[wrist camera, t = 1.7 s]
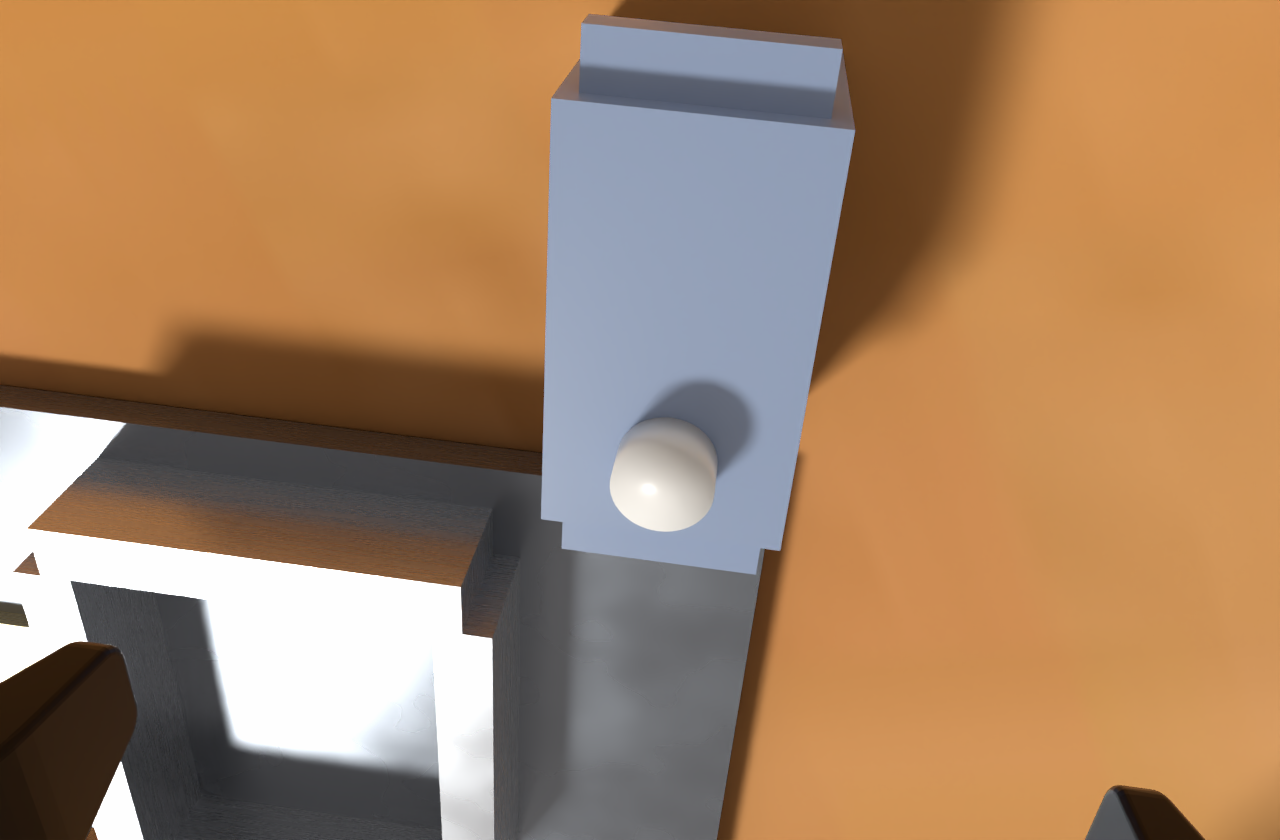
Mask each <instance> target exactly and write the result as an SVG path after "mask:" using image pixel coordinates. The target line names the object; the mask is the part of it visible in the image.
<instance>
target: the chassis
mask: <svg viewBox="0 0 1280 840" xmlns="http://www.w3.org/2000/svg"><path fill="white" fill-rule="evenodd" d="M542 458H543V453H537V452H529V451H521V450H513V449H505V448H497V447H489V446H481V445H473V444H465V443H457V442H449V441H442V440H434V439H426V438H418V437H410V436H402V435H394V434H386V433H378V432H370V431H362V430H354V429H346V428H338V427H330V426H322V425H314V424H306V423H298V422H290V421H282V420H274V419H266V418H258V417H250V416H242V415H234V414H226V413H218V412H210V411H202V410H194V409H187V408H179V407H171V406H163V405H155V404H147V403H139V402H131V401H123V400H115V399H107V398H99V397H91V396H83V395H75V394H67V393H59V392H51V391H43V390H35V389H27V388H19V387H11V386H3V385H0V683H1V682H2V681H4V680H6V679H8V678H9V677H11V676H13V675H14V674H16V673H18V672H20V671H21V670H23V669H25V668H26V667H28V666H30V665H32V664H33V663H35V662H37V661H38V660H40V659H42V658H44V657H45V656H47V655H49V654H50V653H52V652H54V651H56V650H57V649H59V648H61V647H62V646H64V645H66V644H69V643H71V642H74V641H87V642H94V643H101V644H109V645H113V646H116V647H118V648H119V649H120V651H121V652H122V653H123V655H124V657H125V661H126V665H127V669H128V672H129V676H130V680H131V684H132V687H133V691H134V695H135V699H136V702H137V709H138V716H137V723H136V726H135V730H134V733H133V735H132V738H131V740H130V742H129V744H128V747H127V749H126V751H125V753H124V755H123V758H122V760H121V762H120V764H119V767H118V769H117V771H116V773H115V776H114V778H113V780H112V782H111V785H110V787H109V789H108V791H107V794H106V796H105V798H104V800H103V803H102V805H101V807H100V809H99V812H98V814H97V816H96V818H95V821H94V823H93V825H92V827H93V828H95V832H96V835H97V838H98V840H717V835H718V829H719V823H720V817H721V811H722V805H723V799H724V793H725V787H726V781H727V775H728V769H729V763H730V757H731V750H732V744H733V738H734V732H735V726H736V720H737V714H738V708H739V702H740V696H741V690H742V684H743V678H744V672H745V666H746V660H747V654H748V648H749V642H750V636H751V630H752V624H753V618H754V612H755V605H756V599H757V593H758V587H759V581H760V575H761V569H762V563H763V557H764V551H765V549H762V548H760V553H759V559H758V565H757V571H756V575H754V574H747V573H739V572H732V571H724V570H717V569H709V568H702V567H695V566H687V565H680V564H672V563H665V562H657V561H650V560H643V559H635V558H628V557H620V556H613V555H605V554H598V553H590V552H583V551H576V550H568V549H562V524H563V522H558V521H551V520H543V519H541V499H542Z"/></svg>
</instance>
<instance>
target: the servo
mask: <svg viewBox="0 0 1280 840" xmlns="http://www.w3.org/2000/svg"><path fill="white" fill-rule="evenodd" d="M842 51H843V47H842V41H841V39H837V38H827V37H817V36H806V35H796V34H786V33H776V32H766V31H756V30H746V29H736V28H726V27H716V26H706V25H696V24H686V23H676V22H665V21H655V20H645V19H635V18H625V17H615V16H605V15H595V14H589V15H588V16H587V17H586V18H585V20H584V21H583V22H582V25H581V51H580V59H579V61H578V62H577V64H576V65H575V66H574V68H573V69H572V70H571V72H570V73H569V75H568V76H567V77H566V79H565V80H564V81H563V83H562V84H561V86H560V87H559V88H558V90H557V91H556V92H555V94H554V95H553V97H552V98H551V131H550V171H549V212H548V253H547V294H546V335H545V376H544V417H543V458H542V499H541V519H543V520H551V521H558V522H563V524H562V549H568V550H576V551H583V552H590V553H598V554H605V555H613V556H620V557H628V558H635V559H643V560H650V561H657V562H665V563H672V564H680V565H687V566H695V567H702V568H709V569H717V570H724V571H732V572H739V573H747V574H754V575H756V571H757V565H758V559H759V553H760V548H762V549H769V550H777V551H780V549H781V544H782V538H783V533H784V527H785V521H786V516H787V510H788V505H789V499H790V493H791V488H792V482H793V477H794V471H795V465H796V460H797V454H798V449H799V443H800V437H801V432H802V426H803V421H804V415H805V409H806V404H807V398H808V393H809V387H810V381H811V376H812V370H813V365H814V359H815V353H816V348H817V342H818V337H819V331H820V325H821V320H822V314H823V309H824V303H825V297H826V292H827V286H828V281H829V275H830V269H831V264H832V258H833V253H834V247H835V241H836V236H837V230H838V225H839V219H840V213H841V208H842V202H843V197H844V191H845V185H846V180H847V174H848V169H849V163H850V157H851V152H852V146H853V141H854V135H855V125H854V119H853V112H852V106H851V100H850V93H849V87H848V81H847V74H846V68H845V62H844V56H843V53H842Z"/></svg>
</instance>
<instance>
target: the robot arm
mask: <svg viewBox="0 0 1280 840" xmlns="http://www.w3.org/2000/svg"><path fill="white" fill-rule="evenodd" d="M137 716H138V709H137V702H136V699H135V695H134V691H133V687H132V684H131V680H130V676H129V672H128V669H127V665H126V661H125V657H124V655H123V653H122V652H121V651H120V649H119V648H118V647H116V646H113V645H109V644H101V643H94V642H87V641H74V642H71V643H69V644H66V645H64V646H62V647H61V648H59V649H57V650H56V651H54V652H52V653H50V654H49V655H47V656H45V657H44V658H42V659H40V660H38V661H37V662H35V663H33V664H32V665H30V666H28V667H26V668H25V669H23V670H21V671H20V672H18V673H16V674H14V675H13V676H11V677H9V678H8V679H6V680H4V681H2V682H1V683H0V840H86V838H87V836H88V834H89V832H90V829H91V827H92V825H93V823H94V821H95V818H96V816H97V814H98V812H99V809H100V807H101V805H102V803H103V800H104V798H105V796H106V794H107V791H108V789H109V787H110V785H111V782H112V780H113V778H114V776H115V773H116V771H117V769H118V767H119V764H120V762H121V760H122V758H123V755H124V753H125V751H126V749H127V747H128V744H129V742H130V740H131V738H132V735H133V733H134V730H135V726H136V723H137ZM1085 840H1205V839H1204V838H1203V836H1202V835H1201V834H1200V833H1199V832H1198V831H1197V830H1196V829H1195V827H1194V826H1193V825H1192V824H1191V823H1190V822H1189V821H1188V820H1187V818H1186V817H1185V816H1184V815H1183V814H1182V813H1181V812H1180V811H1179V809H1178V808H1177V807H1176V806H1175V805H1174V804H1173V803H1172V802H1171V801H1170V800H1169V799H1168V798H1167V797H1166V796H1165V795H1163V794H1162V793H1160V792H1158V791H1155V790H1151V789H1144V788H1137V787H1129V786H1122V785H1117V786H1113V787H1111V788H1110V789H1109V790H1108V791H1107V793H1106V794H1105V796H1104V798H1103V800H1102V803H1101V805H1100V807H1099V809H1098V812H1097V814H1096V816H1095V818H1094V821H1093V823H1092V825H1091V827H1090V829H1089V832H1088V834H1087V836H1086V838H1085Z"/></svg>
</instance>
